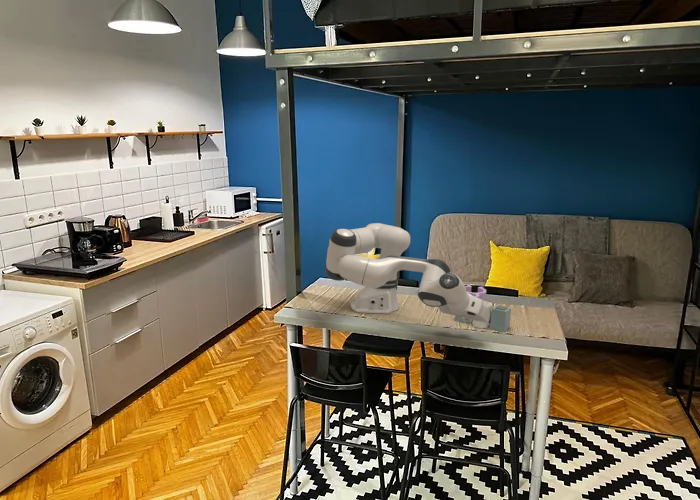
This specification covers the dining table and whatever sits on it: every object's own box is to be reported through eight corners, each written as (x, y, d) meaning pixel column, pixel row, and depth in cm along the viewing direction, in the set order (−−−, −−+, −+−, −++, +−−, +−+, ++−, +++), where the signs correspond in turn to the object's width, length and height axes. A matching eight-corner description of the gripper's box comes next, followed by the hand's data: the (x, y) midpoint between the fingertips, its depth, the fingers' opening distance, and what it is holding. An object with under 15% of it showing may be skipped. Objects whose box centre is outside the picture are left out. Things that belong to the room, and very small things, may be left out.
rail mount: (504, 332, 208) (506, 310, 206) (454, 320, 220) (456, 299, 218) (510, 326, 214) (513, 305, 212) (462, 315, 227) (464, 295, 225)
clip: (481, 313, 231) (482, 298, 230) (454, 309, 236) (455, 294, 234) (487, 300, 249) (488, 287, 248) (461, 297, 254) (462, 284, 252)
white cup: (489, 323, 218) (491, 301, 216) (490, 329, 210) (492, 307, 208) (470, 321, 219) (472, 299, 217) (471, 327, 212) (473, 305, 210)
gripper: (432, 303, 197) (441, 320, 207) (481, 315, 186) (489, 332, 196) (437, 290, 200) (446, 307, 210) (487, 300, 188) (494, 318, 198)
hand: (467, 319), depth 203 cm, fingers closed
